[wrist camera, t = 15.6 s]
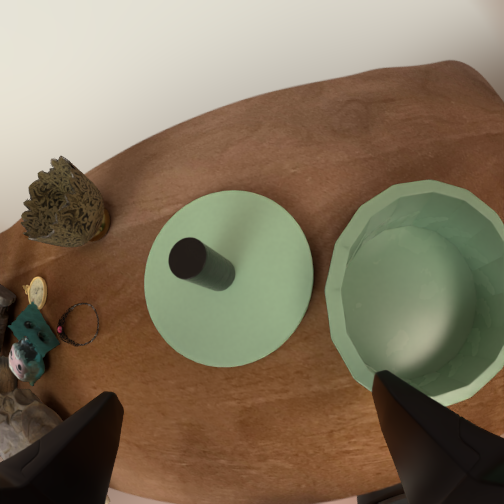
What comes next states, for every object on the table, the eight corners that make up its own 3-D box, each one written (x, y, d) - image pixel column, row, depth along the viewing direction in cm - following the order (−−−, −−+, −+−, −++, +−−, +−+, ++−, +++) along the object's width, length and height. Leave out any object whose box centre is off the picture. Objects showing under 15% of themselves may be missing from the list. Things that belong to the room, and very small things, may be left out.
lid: (349, 306, 19) (358, 297, 13) (193, 392, 20) (147, 409, 14) (256, 167, 23) (233, 121, 17) (132, 252, 24) (85, 231, 19)
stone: (73, 387, 24) (64, 449, 15) (81, 433, 25) (80, 493, 16) (-11, 372, 20) (-39, 422, 11) (3, 419, 20) (-14, 472, 11)
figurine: (-5, 392, 13) (7, 430, 16) (81, 374, 21) (77, 412, 23) (-26, 294, 19) (-20, 341, 21) (42, 290, 26) (39, 334, 29)
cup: (80, 273, 26) (18, 253, 18) (75, 213, 28) (23, 185, 21) (133, 242, 25) (68, 210, 17) (123, 179, 27) (71, 140, 20)
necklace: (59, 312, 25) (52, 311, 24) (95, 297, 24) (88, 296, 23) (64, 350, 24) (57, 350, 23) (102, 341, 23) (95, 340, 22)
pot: (488, 362, 14) (532, 369, 9) (337, 402, 17) (339, 431, 12) (460, 208, 18) (491, 171, 12) (315, 233, 20) (308, 198, 15)
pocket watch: (49, 279, 27) (46, 278, 26) (44, 313, 26) (41, 312, 26) (27, 273, 29) (24, 272, 28) (22, 303, 28) (19, 302, 27)
